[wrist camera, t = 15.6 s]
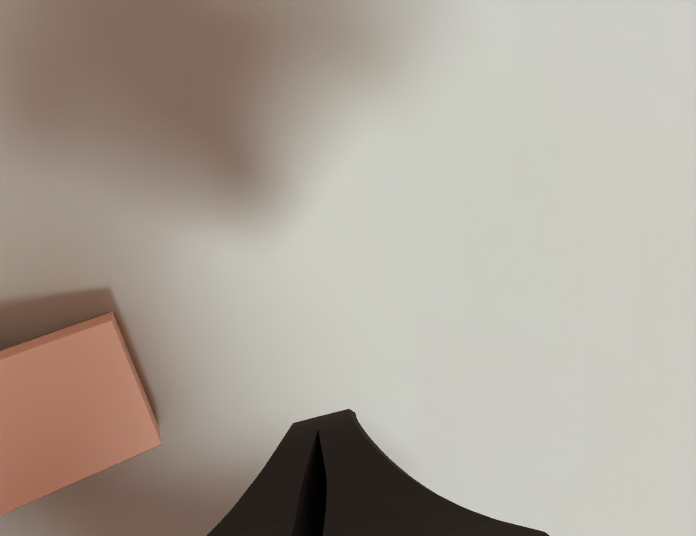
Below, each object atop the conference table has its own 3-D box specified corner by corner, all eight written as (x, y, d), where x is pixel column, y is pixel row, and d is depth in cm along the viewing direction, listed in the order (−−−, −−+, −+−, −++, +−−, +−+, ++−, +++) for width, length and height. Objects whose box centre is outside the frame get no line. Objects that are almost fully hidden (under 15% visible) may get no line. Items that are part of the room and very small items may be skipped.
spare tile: (111, 320, 19) (-162, 417, 16) (161, 444, 20) (-88, 554, 17) (112, 311, 20) (-135, 398, 18) (158, 426, 22) (-69, 523, 19)
